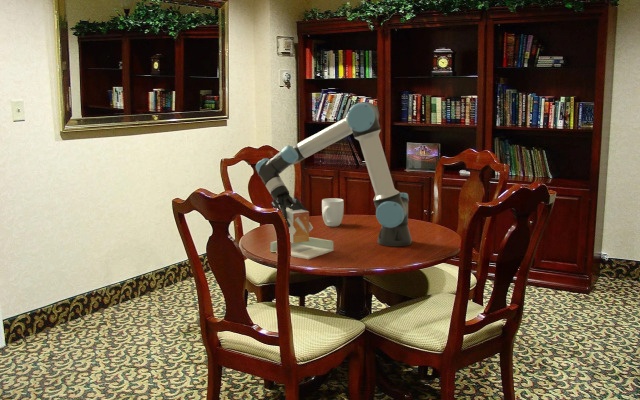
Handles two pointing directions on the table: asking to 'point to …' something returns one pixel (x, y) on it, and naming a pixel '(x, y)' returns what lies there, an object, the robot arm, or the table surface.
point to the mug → (332, 211)
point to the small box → (299, 225)
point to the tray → (307, 248)
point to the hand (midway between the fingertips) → (302, 231)
